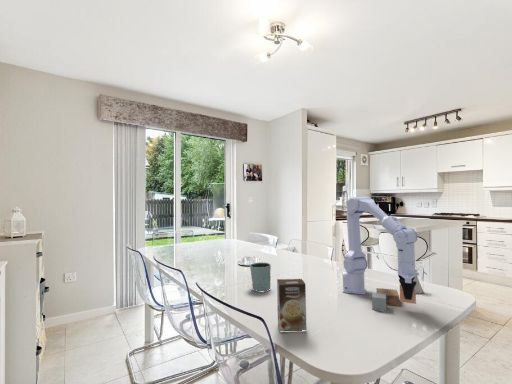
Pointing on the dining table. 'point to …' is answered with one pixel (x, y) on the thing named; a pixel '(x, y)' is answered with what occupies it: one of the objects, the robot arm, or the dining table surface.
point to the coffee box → (291, 304)
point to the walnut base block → (390, 296)
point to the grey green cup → (260, 276)
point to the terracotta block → (407, 299)
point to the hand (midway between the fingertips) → (407, 296)
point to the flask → (418, 285)
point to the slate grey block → (379, 302)
